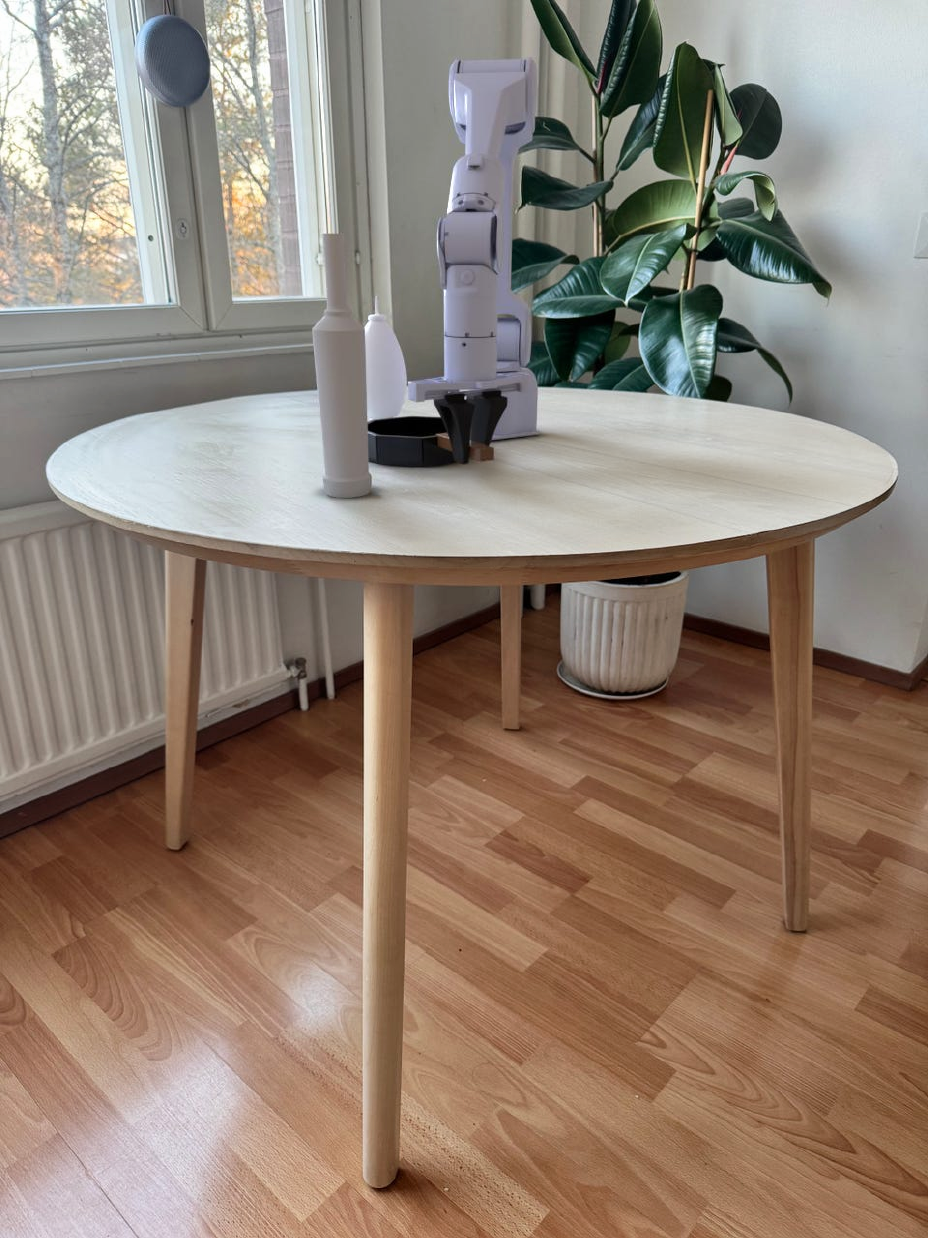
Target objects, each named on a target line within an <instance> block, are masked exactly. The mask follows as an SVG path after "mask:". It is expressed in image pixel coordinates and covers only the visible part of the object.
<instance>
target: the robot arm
mask: <svg viewBox="0 0 928 1238" xmlns="http://www.w3.org/2000/svg"><path fill="white" fill-rule="evenodd" d="M537 70H538V68H537V63H536V62H535V60H534V59H533V57H532V56H527V57H526V58H507V59H506V58H505V59H476V60H475V59H474V60H472V59H471V60H462V59H460V58H455V59H454V60H453V63H452V64H451V65H450V67H449V72H448V73H449V74H448V101H449V111H450V115H451V118H452V120H453V124H454V129H455V133H456V134H457V136H458V139H459V142H460V143H462V144H463V145H465V150H464V151H465V152H464V153H465V155H463V156H461V157H460V158H459V159H458V160H457V161H456V163H455V164H454V166H453V169H452V175H451V183H450V189H449V196H448V203H447V211H446V217H444V218H443V217H440V218H439V220H438V222H437V223H438V224H437V229H436V230H437V231H436V253H437V259H438V265H439V278H440V279H439V280H440V283H439V284H440V289H441V290H443V351H444V352H443V359H444V360H443V364H444V366H443V369H444V371H443V374H444V375H443V376H439V377H432V378H425V379H419V380H410V381H407V400H409V401H411V402H414V403H425V401H432V400H433V406H434V408H435V410H436V411H437V413H438V415H439V417H441V419H442V421H443V423H444V426H445V428H446V431H447V434H448V437H449V440H450V444H451V447H452V452H453V456H454V461H456V463H459V464H461V465H468V464H469V461H470V458H469V454H470V429H471V440H472V441H475V442H478V443H481V444H484V445H487V446H490V447H491V442H492V441H497V440H505V439H512V438H514V439H515V438H520V437H522V438H523V437H529V436H537V435H540V433H541V431H540V430H538V429H537V428H538V402H539V401H538V399H539V398H538V395H539V388H538V387H539V386H538V381H537V378H536V375H535V374H534V372H533V371H532V370H531V369H530V368H527V365H528V364H529V363H530V361H531V352H532V321H531V319H532V318H531V317H532V316H531V315H532V313H531V312H532V311H531V309H530V307H529V304H528V303H527V302H526V301H524V300H523V298H521V297H520V296H518V295H517V294H516V293H515V292H513V290H512V259H513V258H512V256H513V255H512V254H513V253H512V252H513V219H514V217H513V216H514V215H513V214H514V178H515V177H514V175H515V174H514V171H515V164H516V161H517V157H518V154H519V150H520V148H522V147H523V146H525V145H527V144H528V143H531V142H532V141H533V139H534V138H533V137H534V135H533V134H534V133H535V129H536V113H537V112H536V111H537V94H538V93H537V91H538V71H537ZM498 315H509V316H514V317H498Z"/></svg>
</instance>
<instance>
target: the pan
mask: <svg viewBox="0 0 928 1238" xmlns="http://www.w3.org/2000/svg"><path fill="white" fill-rule="evenodd" d="M367 423H368V460H369V462H371V463H373V464H378V465H386V466H393V467H409V468H410V467H416V468H417V467H435V466H445V465H451V464H455V463H457V462H456V461H454V456H453V452H452V447H451V444H450V440H449V437H448V434H447V431H446V428H445V426H444V423H443V421H442V419H441V417H440V416H429V415H428V416H426V415H425V416H424V415H404V416H394V417H393V418H384V419H374V420H367ZM469 459H472V460H474V461H478V462H480V463H482V462H489V461H494V460H495V448H494V447H493V446H491V445H490V446H487V445H484V444H481V443H478V442H475V441H472V440H471V429H470V454H469Z"/></svg>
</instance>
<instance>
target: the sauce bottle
mask: <svg viewBox="0 0 928 1238" xmlns="http://www.w3.org/2000/svg"><path fill="white" fill-rule="evenodd" d="M374 301H375V303H374V304H375V305H374V306H375V311H374V312H375V314H369V315H368V317H367V321H368V322H367V323H366V324H365V326H364V328H365V347H366V385H367V418H368V421H370V420H374V419H384V418H394V417H399V415H400V414H401V411H402V409H403V407H404V404H405V400H406V396H407V391H408V378H407V377H408V376H407V368H406V363H405V358H404V354H403V351H402V347H401V345H400V342H399V341H398V338H397V335H396V334H395V331H394V330H393V328H392V327H391V325H390V324H389V322H388V321H387V320H388V317H387V315H385V314H380V308H379V298H378V295H377V294H376V295H375V300H374Z"/></svg>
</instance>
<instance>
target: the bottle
mask: <svg viewBox="0 0 928 1238" xmlns="http://www.w3.org/2000/svg"><path fill="white" fill-rule="evenodd" d="M321 235H322V252H323V259H324V261H323V262H324V274H325V276H324V277H325V291H326V292H325V294H326V308H325V309H324V310H323V316H322V317H321V318H320V319H319V320H318V321H317V323H316V324H315V325H314V326H313V327H312V328H311V331H312V333H311V334H312V343H313V345H312V346H313V351H314V352H313V355H314V365H315V376H316V377H315V379H316V387H317V397H318V398H317V401H318V410H319V421H320V433H321V445H322V456H323V466H324V467H323V468H324V474H322V485H323V489H324V492H325V494H326V496H329V497H332V498H338V499H351V498H359V497H364V496H366V495H369V494H370V493H371V490H372V486H373V477H372V474H371V473H370V469H369V468H370V467H369V466H370V464H369V463H370V461H369V460H368V423H367V422H368V417H367V385H366V347H365V326H363V325H362V324H361V323H360V322H359V321H358V319H356V318H355V317H354V316H353V315H352V310H351V309H350V308H349V307H348V293H347V291H348V289H347V272H346V257H345V256H346V249H345V248H346V247H345V246H346V245H345V243H346V242H345V233H322V234H321Z"/></svg>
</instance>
